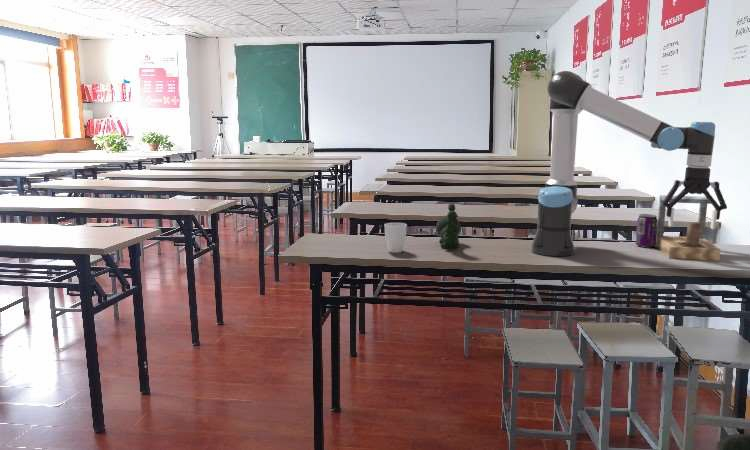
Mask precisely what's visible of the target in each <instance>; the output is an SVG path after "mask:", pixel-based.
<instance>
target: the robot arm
mask: <svg viewBox="0 0 750 450" xmlns="http://www.w3.org/2000/svg"><path fill="white" fill-rule="evenodd" d="M547 94H548V96H549V97H550V101H549V102H550V105H549V111H550V112H551V113H552V114H553V121H552V123H553V125H552V139H551V140H552V141H551V153H550V154H551V159H550V172H549V178H548V180H547V181H545V183H544V184H545V186H544V187H542V188H541V189H540V190H539V192H538V197H537V200H538V204H537V226H536V227H537V228H536V232H535V235H534V237H533V241H532V243H531V247H530V249H531V250H530V251H531V252H532V253H534V254H537V255H542V256H550V257H566V256H567V257H568V256H573V255H574V254H575V243H574V240H573V237H572V233H571V230H572V229H571V227H572V226H571V225H572V214H573V213H574V212H575V211H576V209H577V207H578V204H579V203H578V202H579V200H578V182H576V180H575V178H574V177H575V165H576V164H575V163H576V162H575V161H576V148H577V147H576V145H577V135H578V123H579V122H578V120H579V119H578V118H579V114H580V113H581V112H583V111H586V112H588V113H590V114H592V115H594V116H596V117H598V118H600V119H601V120H605V121H606V122H608V123H610V124H612V125H615V126H617V127H618V128H621V129H623V130H625V131H627V132H629V133H631V134H633V135H635V136H637V137H638V138H639V137H640V138H641V139H643V140H645V141H648V142H649V143H650V147H652V148H653V149H659V150H664V151H668V152H671V151H674V150H676V151H677V150H681V149H682V150H687V157H686V166H687V167H686V168H685V172H684V173H685V174H684V180H678V179H675V180H674V181H673V186H672V187H671V189H670V190H669V192H668V193H667V194H666V195H665V196H666V197H665V199H664V200H663V202H662V205H664V206H666V212H665V216H666V217H667V218H668V227H671V228H672V227H673V224H674V216H675V215H674V214H675V208H674V206H675V205H677V204H678V203H677V202H678V201H680V200H681V199H682V198H683V197H684V196H688V194H691V195H694V194H696V195H702V194H703V195H704V197H706V198H707V199H708V200H709V201H710V203H711V204H710V205H712V207H713V208H714V209H712V210H711V219H710V227H709V228H710V229H711V230H716V225H717V220H719V219H720V217H721V211H722V210H726V209H728V206H727V204H726V200H725V198H724V196H723V194H722V191H721V189H720V182H719V181H711V182H710V177H711V169H710V167H711V166H712V161H713V159H712V158H713V153H714V152H713V151H714V145H715V136H716V124H715V123H714V122H713V121H692V122H691V123H690V125H689V126H688V127H687V126H686V127H682V126H673V125H671V124H669V123H666V122H664V121H662V120H661V119H659V118H656V117H654V116H651V115H650V114H648V113H645V112H644V111H641V110H639V109H638V108H634V107H633V106H631V105H629V104H626V103H624V102H622V101H620V100H618V99H616V98H614V97H612V96H609V95H608V94H605V93H603V92H601V91H599V90H597V89H595V88H593V86H592V83H590V82H588V81H585V80H584V79H583V78H582V77H581V76H580V75H579V74H577V73H574V72H573V71H569V70H562V71H560V72H559V71H558V72H557V73H555V74H553V76H552V77H551V78H550V80H549V81H548V84H547ZM682 185H683V187H684V188H683V189H682V190H681V191H680V192H679V193H678V194H677V195H675V194H676V193H677V191H678V189H679V188H680V187H681V186H682ZM709 187H711V188H712V189H713V191H714V194H715V195H716V198H717V201H718V202H717V201H716V200H715V199H714V197H713V196H712V194H710V191H708V188H709ZM673 196H676V197H675V198H674V199H673V200H672V201H671V202H669V201H670V200H671V198H672V197H673ZM718 203H719V204H718ZM719 221H720V220H719Z"/></svg>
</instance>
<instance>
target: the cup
mask: <svg viewBox="0 0 750 450" xmlns="http://www.w3.org/2000/svg"><path fill="white" fill-rule="evenodd" d="M407 225H408V224H407V223H405V222H387V223H384V237H385V243H386V247H387V250H388V253H394V254H395V253H396V254H399V253H402V252H403V250H404V247H405V244H406V243H405V242H406V237H407V227H408V226H407Z"/></svg>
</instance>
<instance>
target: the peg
mask: <svg viewBox="0 0 750 450" xmlns="http://www.w3.org/2000/svg"><path fill="white" fill-rule="evenodd" d="M686 224H687V225H686V226H687V227H686V236H685V237H686V246H698V245H699V234H700V224H701V223H698V221H697V222H695V221H694V222H693V221H687V223H686Z"/></svg>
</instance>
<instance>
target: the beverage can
mask: <svg viewBox="0 0 750 450" xmlns="http://www.w3.org/2000/svg"><path fill="white" fill-rule="evenodd" d="M636 220H637V221H636V230H635V231H636V234H635V245H637V246H638V247H640V246H643V247H642V248H648V247H649V248H653V247H656V236H657V224H658V215H656V214H646V213H642V214H638V218H637V219H636Z"/></svg>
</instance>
